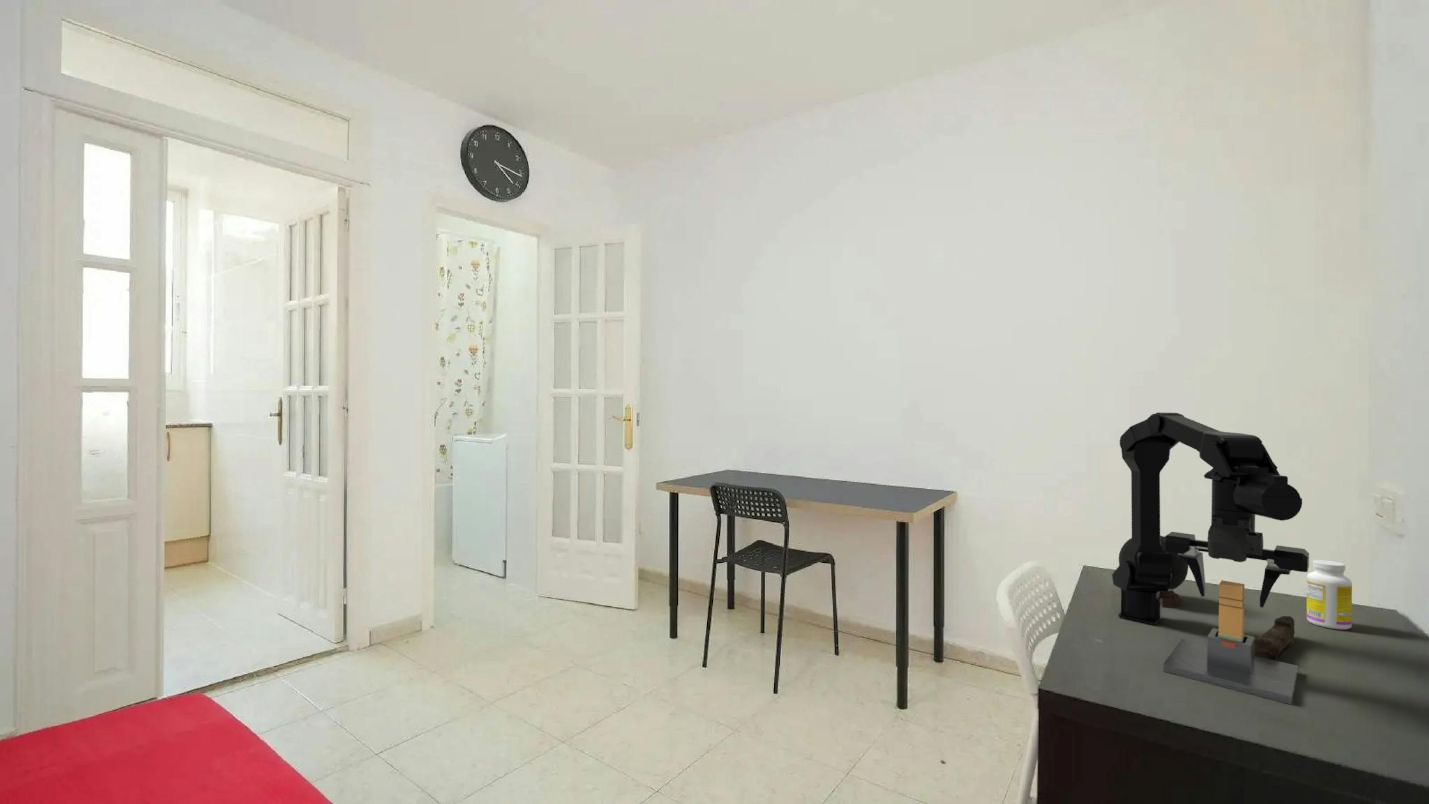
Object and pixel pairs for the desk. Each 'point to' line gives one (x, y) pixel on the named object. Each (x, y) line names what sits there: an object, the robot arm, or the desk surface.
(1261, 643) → the rusty railroad spike
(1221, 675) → the jack stand base
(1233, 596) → the column
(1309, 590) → the supplement bottle
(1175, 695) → the desk surface
